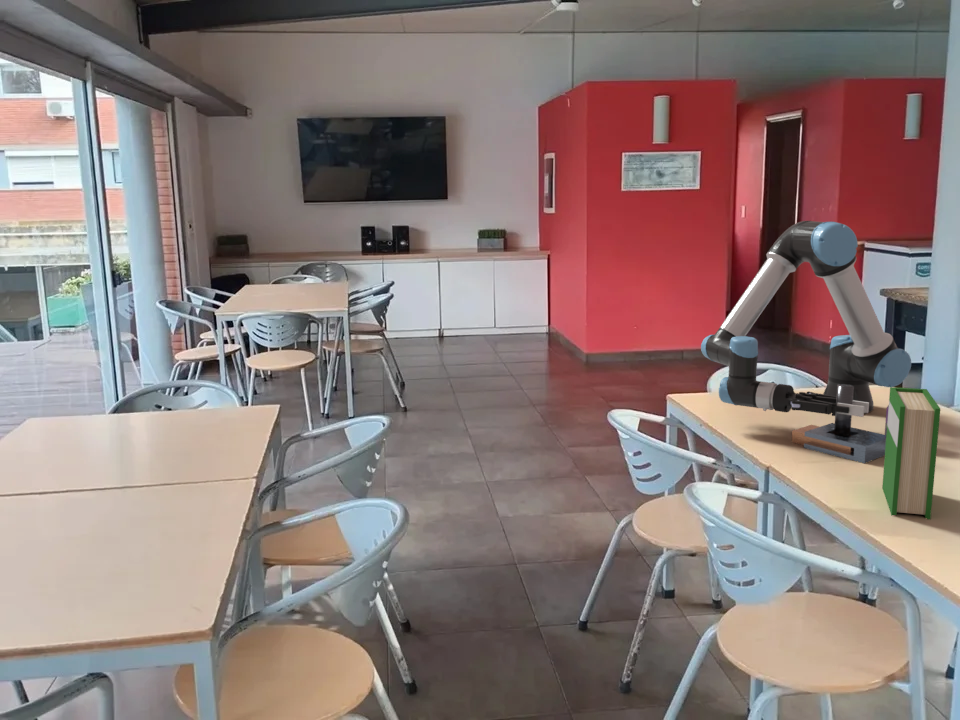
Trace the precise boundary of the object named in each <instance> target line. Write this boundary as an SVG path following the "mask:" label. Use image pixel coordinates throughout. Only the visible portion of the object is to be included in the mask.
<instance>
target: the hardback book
mask: <svg viewBox="0 0 960 720" xmlns="http://www.w3.org/2000/svg"><path fill="white" fill-rule="evenodd" d="M888 397H889V399H888V405H889V409H888V421H887V434H886V447H885V456H884V462H883V472H882V473H883V475H882V485H881V486H882V490H883V494H884V497H885V499H886V503H887V507H888V509H889V512H890V515H891V516H892V515H896V516H897V513H904V514H915V515H923V516H925V517H924V519H925V518H927V519H926V520H931V518H932V505H933V493H934V485H935V474H936V473H935V472H936V471H935V470H936V462H937V452H938V451H937V449H938V441H939V439H938V438H939V429H940V428H939V427H940V419H941V418H940V417H941V407H940V406H939V405H938V403H937V402H936V401H935V399H934V398H933V396H932V394H931V393H930V391H929V390H928V389H927V388H911V387H910V388H909V387H896V386H894V387H889V396H888Z"/></svg>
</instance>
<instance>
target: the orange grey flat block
mask: <svg viewBox="0 0 960 720" xmlns="http://www.w3.org/2000/svg"><path fill="white" fill-rule="evenodd" d="M834 425H835V422H832V423H828V424H825V425H822V426H819V425H814V424H809V425H805V426H803V427H800V428H796V429H792V432H791V434H792V435H791V443H793V444H797V445H798V444H799V445H802V446H803V449H807V450H811V451H814V450H815V452H818V451H819V453H822V452H823V453H822V454H826V453H827V455H831V456H834V455H835V457H838V458H841V457H842V458H843V459H845V460H849V459H850V461H853V460H854V461H853V462H857V461H858V462H857V463H861V462H862V464H866V462H867V463H868V462H869V461H870V462H872V461H875V460H877V459H880V458H882V457H885V456H884V455H885V447H886V435H885V433H884V434H882V433H879V432H874V431H869V430H865V429H860V428H856V427H852V426H851V432H850V437H843V436H839V435H834ZM879 457H880V458H879ZM876 458H877V459H876ZM874 459H875V460H874ZM871 460H872V461H871Z"/></svg>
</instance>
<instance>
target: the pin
mask: <svg viewBox="0 0 960 720" xmlns="http://www.w3.org/2000/svg"><path fill="white" fill-rule="evenodd" d="M853 392H854V386H852V385H848V384H839V385H837V396H836V405H837V403H845V404H852V405H853ZM834 423H835V425H834V435H839V436H843V437H850V432H851V427H852V415H846V414H839V413H836V415H835V416H834Z"/></svg>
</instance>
